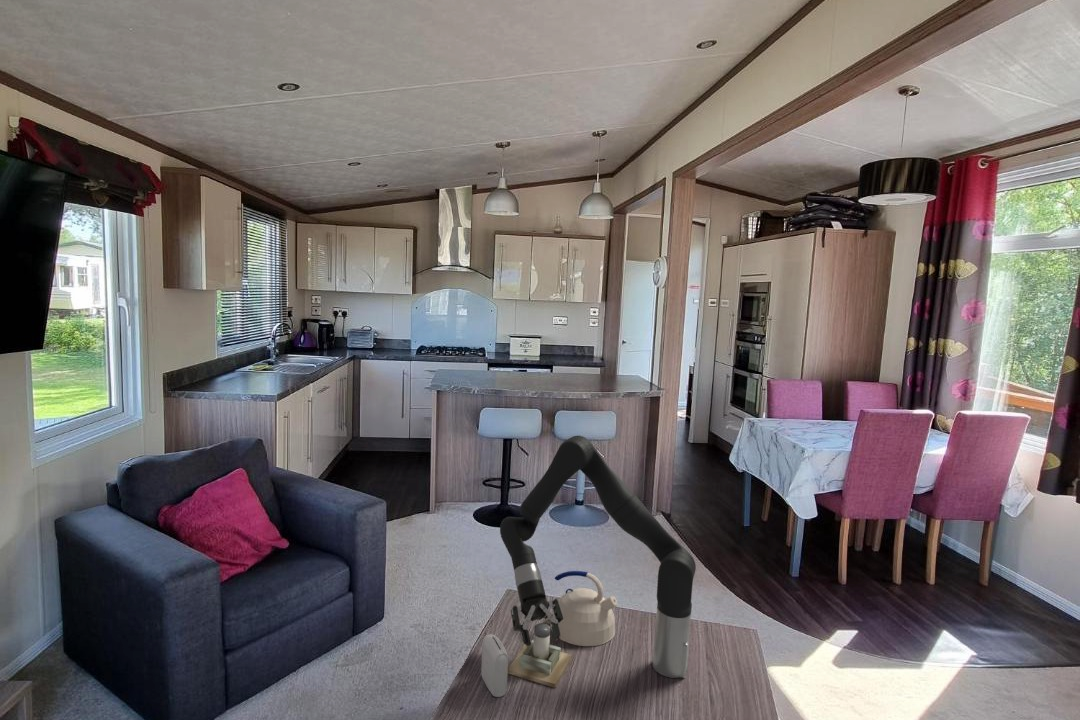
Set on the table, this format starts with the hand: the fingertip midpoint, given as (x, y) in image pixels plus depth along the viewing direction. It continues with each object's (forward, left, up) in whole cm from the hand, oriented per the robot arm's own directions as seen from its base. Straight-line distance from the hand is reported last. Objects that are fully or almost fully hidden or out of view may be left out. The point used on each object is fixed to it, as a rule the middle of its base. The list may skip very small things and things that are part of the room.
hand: (543, 642), depth 160 cm
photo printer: (+9, +12, -8) cm, 17 cm away
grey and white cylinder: (+1, -1, -6) cm, 6 cm away
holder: (+1, -1, -7) cm, 7 cm away
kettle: (-4, -24, -8) cm, 26 cm away
